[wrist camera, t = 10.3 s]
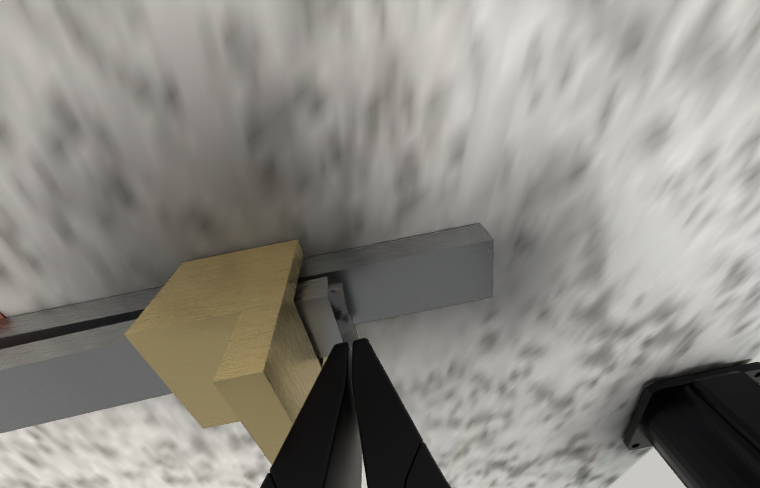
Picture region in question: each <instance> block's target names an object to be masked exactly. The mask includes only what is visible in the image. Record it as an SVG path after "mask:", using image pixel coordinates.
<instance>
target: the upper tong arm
mask: <svg viewBox="0 0 760 488" xmlns="http://www.w3.org/2000/svg"><path fill="white" fill-rule="evenodd" d="M293 301H294V303H295V306H296V308H297V311H298V313H299V315H300V318H301V320H302V323H303V325H304V328H305V330H306V332H307V335H308V337H309V340H310V342H311V344H312V347H313V349H314V352H315V354H316V356H317V359H320V358H325V357H328V356H329V354H330V352H331V350H332V348H333V346H334V345H335V344H338V343H343V342H349V343H350V346H351V348H352V343H353V341H354V340H358V334H357V331H356V328H355V324H354V321H353V318H352V314H351V311H350V307H349V304H348V301H347V297H346V294H345V291H344V287H343V284H342V281H341V280H340V279H338V278H328V276H325V277H321V278H316V279H312V280H308V281H303V282H299V283H297V286H296V290H295V295H294V300H293ZM136 320H137V319H134V320H130V321H125V322H121V323H116V324H112V325H107V326H103V327H99V328H94V329H90V330H85V331H81V332H76V333H72V334H67V335H63V336H59V337H54V338H50V339H45V340H41V341H36V342H32V343H27V344H23V345H19V346H14V347H10V348H5V349H1V350H0V433H4V432H8V431H13V430H17V429H21V428H25V427H30V426H34V425H38V424H42V423H47V422H51V421H55V420H60V419H64V418H68V417H72V416H77V415H81V414H85V413H90V412H94V411H98V410H102V409H107V408H111V407H115V406H119V405H124V404H128V403H132V402H137V401H141V400H145V399H149V398H154V397H158V396H162V395H166V394H171V393H173V392H172V391H171V390H170V389H169V387H168V386H167V385H166V384H165V383H164V382H163V380H162V379H161V378H160V377H159V376H158V374H157V373H156V372H155V371H154V370H153V368H152V367H151V366H150V365H149V364H148V363H147V361H146V360H145V359H144V358H143V357H142V355H141V354H140V353H139V352H138V351H137V350H136V348H135V347H134V346H133V345H132V344H131V342H130V341H129V340H128V339H127V338H126V337H125V335H124V334H125V333H126V332H127V331H128V329H129V328H130V327H131V326H132V324H133V323H134V322H135V321H136Z"/></svg>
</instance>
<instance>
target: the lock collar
mask: <svg viewBox="0 0 760 488" xmlns="http://www.w3.org/2000/svg"><path fill="white" fill-rule="evenodd" d="M302 258H303V251H302V248H301V245H300V243H299V240H298V239H297V240H292V241H287V242H282V243H277V244H272V245H267V246H262V247H257V248H252V249H247V250H242V251H237V252H232V253H227V254H222V255H217V256H212V257H207V258H202V259H197V260H192V261H187V262H183V263H182V264H181V266H180V267H179V268H178V269H177V271H176V272H175V273H174V274H173V275H172V277H171V278H170V279H169V280H168V282H167V283H166V284H165V285H164V287H163V288H162V289H161V290H160V291H159V293H158V294H157V295H156V296H155V298H154V299H153V300H152V301H151V302H150V304H149V305H148V306H147V307H146V309H145V310H144V311H143V312H142V313H141V315H140V316H139V317H138V318H137V320H136V321H135V322H134V323H133V324H132V326H131V327H130V328H129V329H128V331H127V332H126V333H125V334H124V335H125V337H126V338H127V339H128V340H129V341H130V342H131V344H132V345H133V346H134V347H135V348H136V350H137V351H138V352H139V353H140V354H141V355H142V357H143V358H144V359H145V360H146V361H147V363H148V364H149V365H150V366H151V367H152V368H153V370H154V371H155V372H156V373H157V374H158V376H159V377H160V378H161V379H162V380H163V382H164V383H165V384H166V385H167V386H168V387H169V389H170V390H171V391H172V392H173V393H174V395H175V396H176V397H177V398H178V399H179V400H180V402H181V403H182V404H183V405H184V406H185V408H186V409H187V410H188V411H189V412H190V413H191V415H192V416H193V417H194V418H195V419H196V421H197V422H198V423H199V424H200V425H201V427H202V428H208V427H213V426H218V425H223V424H228V423H233V422H238V421H241V423H242V424H243V425H244V427H245V428H246V430H247V431H248V432H249V434H250V435H251V437H252V438H253V439H254V441H255V442H256V444H257V445H258V446H259V448H260V449H261V451H262V452H263V453H264V455H265V456H266V457H267V459H268V460H269V462H270V463H271V464H273V462H274V460H275V458H276V456H277V455H278V453H279V451H280V449H281V447H282V445H283V443H284V441H285V439H286V437H287V435H288V433H289V431H290V429H291V427H292V425H293V424H294V422H295V420H296V418H297V416H298V414H299V412H300V410H301V408H302V406H303V404H304V402H305V400H306V398H307V396H308V394H309V393H310V391H311V389H312V387H313V385H314V383H315V381H316V379H317V377H318V375H319V373H320V371H321V369H322V367H323V365H324V363H325V361H326V360H327V358H328V357H325V358H320V359H317V356H316V354H315V352H314V349H313V347H312V344H311V342H310V340H309V337H308V335H307V332H306V330H305V328H304V325H303V323H302V320H301V318H300V315H299V313H298V311H297V308H296V306H295V303H294V301H293V300H294V295H295V290H296V286H297V281H298V277H299V272H300V268H301V263H302Z"/></svg>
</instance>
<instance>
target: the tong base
mask: <svg viewBox="0 0 760 488" xmlns="http://www.w3.org/2000/svg"><path fill="white" fill-rule="evenodd" d="M325 276H328V278H338V279H340V280H341V281H342V284H343V287H344V291H345V294H346V297H347V301H348V304H349V307H350V311H351V314H352V318H353V321H354V324H355V325H356V324H361V323H366V322H371V321H376V320H381V319H386V318H391V317H396V316H401V315H406V314H411V313H416V312H421V311H426V310H431V309H436V308H441V307H446V306H451V305H456V304H461V303H466V302H471V301H476V300H481V299H486V298H491V297H492V292H493V238H492V237H491V236H490V235H489V234H488V232H487V231H486V230H485V229H484V228H483V226H482V225H481V224H480V223H478V224H473V225H468V226H463V227H458V228H453V229H448V230H443V231H438V232H433V233H428V234H423V235H418V236H413V237H408V238H403V239H398V240H393V241H388V242H383V243H378V244H373V245H368V246H363V247H358V248H353V249H348V250H343V251H338V252H333V253H328V254H323V255H318V256H313V257H308V258H303V259H302V263H301V268H300V272H299V277H298V281H297V283H299V282H303V281H308V280H312V279H316V278H321V277H325ZM163 287H164V286H163ZM163 287H158V288H153V289H148V290H143V291H138V292H133V293H128V294H123V295H118V296H113V297H108V298H103V299H98V300H93V301H88V302H83V303H78V304H73V305H68V306H63V307H58V308H53V309H48V310H43V311H38V312H33V313H28V314H23V315H18V316H13V317H8V318H4V317H3V316H2V315H1V314H0V350H1V349H5V348H10V347H14V346H19V345H23V344H27V343H32V342H36V341H41V340H45V339H50V338H54V337H59V336H63V335H67V334H72V333H76V332H81V331H85V330H90V329H94V328H99V327H103V326H107V325H112V324H116V323H121V322H125V321H130V320H134V319H137V318H138V317H139V316H140V315H141V313H142V312H143V311H144V310H145V309H146V307H147V306H148V305H149V304H150V302H151V301H152V300H153V299H154V298H155V296H156V295H157V294H158V293H159V291H160V290H161V289H162V288H163Z"/></svg>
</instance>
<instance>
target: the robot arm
mask: <svg viewBox="0 0 760 488" xmlns="http://www.w3.org/2000/svg"><path fill="white" fill-rule="evenodd" d="M623 443H624V444H625V445H626V447H627V448H628V449H629V450H635V449H640V448H645V447H650V446H653V447H654V448H655V449H656V450H657V451H658V453H659V454H660V455H661V457H662V458H663V459H664V460H665V461H666V463H667V464H668V465H669V466H670V468H671V469H672V470H673V471H674V473H675V474H676V475H677V476H678V478H679V479H680V480H681V481H682V483H683V484H684V485H685V486H686V487H687V488H760V362H754V363H749V364H744V365H739V366H734V367H729V368H724V369H718V370H713V371H708V372H703V373H698V374H693V375H688V376H683V377H678V378H673V379H668V380H663V381H658V382H654V383H652V384H650V385H649V386H647V388H646V389H645V391H644V393H643V396H642V398H641V400H640V403H639V405H638V407H637V410H636V412H635V414H634V417H633V419H632V421H631V424H630V426H629V428H628V430H627V433H626V435H625V437H624V440H623ZM362 454H363V460H364V467H365V473H366V480H367V487H368V488H451V487H450V485H449V484H448V482H447V481H446V479H445V477H444V476H443V474H442V472H441V471H440V469H439V467H438V466H437V464H436V462H435V460H434V459H433V457H432V455H431V453H430V452H429V450H428V448H427V446H426V444H425V443H424V442H423V439H422V437H421V435H420V434H419V432H418V430H417V428H416V426H415V425H414V423H413V421H412V419H411V417H410V415H409V414H408V412H407V410H406V408H405V406H404V405H403V403H402V401H401V399H400V397H399V396H398V394H397V392H396V390H395V388H394V386H393V385H392V383H391V381H390V379H389V377H388V376H387V374H386V372H385V370H384V368H383V366H382V365H381V363H380V361H379V359H378V357H377V356H376V354H375V352H374V350H373V348H372V346H371V345H370V343H369V341H368V339H367V338H363V339H358V340H354V341H353V343H352V349H351V346H350V343H349V342H343V343H338V344H335V345H334V346H333V348H332V350H331V352H330V354H329V356H328V358H327V360H326V361H325V363H324V365H323V367H322V369H321V371H320V373H319V375H318V377H317V379H316V381H315V383H314V385H313V387H312V389H311V391H310V393H309V394H308V396H307V398H306V400H305V402H304V404H303V406H302V408H301V410H300V412H299V414H298V416H297V418H296V420H295V422H294V424H293V425H292V427H291V429H290V431H289V433H288V435H287V437H286V439H285V441H284V443H283V445H282V447H281V449H280V451H279V453H278V455H277V456H276V458H275V460H274V462H273V464H272V466H271V468H270V473H268V474H267V475H266V477H265V479H264V481H263V483H262V485H261V487H260V488H361V481H362Z"/></svg>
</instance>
